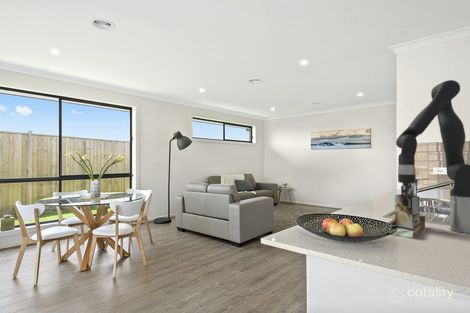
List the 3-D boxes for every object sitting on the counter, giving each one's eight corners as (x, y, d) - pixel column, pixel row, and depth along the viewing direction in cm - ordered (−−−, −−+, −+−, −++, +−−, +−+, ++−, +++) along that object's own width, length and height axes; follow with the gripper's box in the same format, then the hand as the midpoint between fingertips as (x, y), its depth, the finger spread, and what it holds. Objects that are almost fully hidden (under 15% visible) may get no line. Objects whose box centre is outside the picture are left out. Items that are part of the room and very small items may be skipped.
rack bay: (425, 227, 133) (425, 215, 133) (416, 239, 113) (416, 225, 113) (395, 223, 142) (395, 212, 142) (382, 233, 122) (382, 220, 122)
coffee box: (420, 228, 128) (420, 196, 129) (413, 229, 126) (412, 197, 126) (402, 223, 137) (401, 194, 137) (394, 225, 134) (394, 194, 134)
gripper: (412, 174, 124) (413, 207, 124) (417, 173, 134) (418, 204, 134) (395, 173, 129) (395, 206, 129) (401, 172, 139) (401, 202, 139)
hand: (407, 204), depth 131 cm, fingers closed on coffee box, 8 cm apart
